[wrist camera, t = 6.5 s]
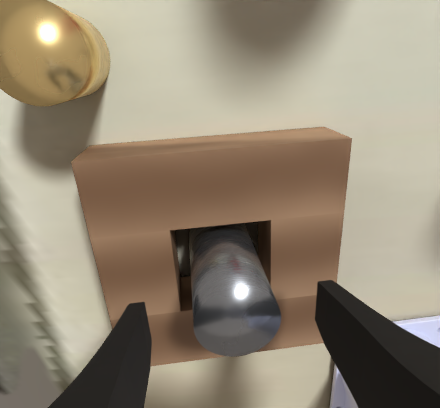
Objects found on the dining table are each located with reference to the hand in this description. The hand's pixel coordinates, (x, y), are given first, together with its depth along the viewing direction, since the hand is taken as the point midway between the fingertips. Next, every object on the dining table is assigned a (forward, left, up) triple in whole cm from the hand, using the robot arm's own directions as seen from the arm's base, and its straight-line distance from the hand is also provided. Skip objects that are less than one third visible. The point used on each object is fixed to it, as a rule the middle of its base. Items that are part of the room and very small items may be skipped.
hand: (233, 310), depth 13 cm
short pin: (+10, +6, -6) cm, 13 cm away
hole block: (0, 0, -6) cm, 6 cm away
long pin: (0, 0, -6) cm, 6 cm away
